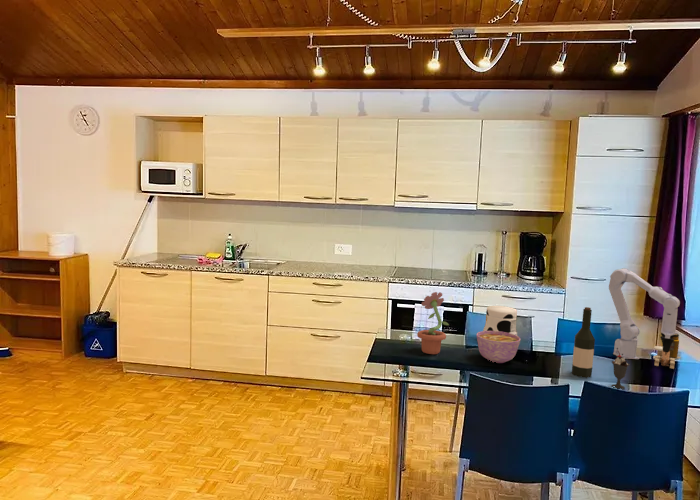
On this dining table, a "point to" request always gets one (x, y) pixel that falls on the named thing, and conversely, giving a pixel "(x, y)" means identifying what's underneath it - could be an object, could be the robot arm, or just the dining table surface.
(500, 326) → the milk container
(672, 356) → the condiment
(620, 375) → the sundae
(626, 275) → the robot arm
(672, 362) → the notched board
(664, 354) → the copper peg
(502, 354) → the bowl of food
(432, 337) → the decorative flower
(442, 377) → the dining table surface
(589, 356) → the wine bottle
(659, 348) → the bobbin
